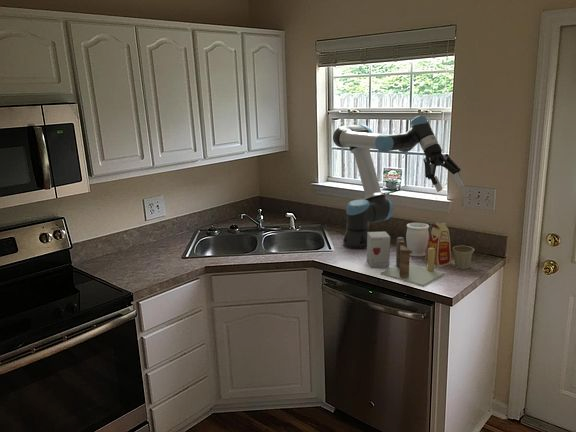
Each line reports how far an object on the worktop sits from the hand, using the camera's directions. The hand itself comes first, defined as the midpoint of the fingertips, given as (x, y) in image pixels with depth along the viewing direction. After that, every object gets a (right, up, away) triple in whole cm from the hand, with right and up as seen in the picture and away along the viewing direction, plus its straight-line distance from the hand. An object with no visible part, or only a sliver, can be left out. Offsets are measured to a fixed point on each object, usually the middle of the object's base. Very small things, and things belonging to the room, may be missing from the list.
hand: (450, 188), depth 211 cm
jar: (-8, -31, +25) cm, 41 cm away
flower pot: (+7, -35, +7) cm, 37 cm away
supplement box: (-30, -35, +12) cm, 48 cm away
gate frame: (-17, -38, -1) cm, 42 cm away
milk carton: (-2, -34, +13) cm, 36 cm away
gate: (-21, -36, -1) cm, 42 cm away
